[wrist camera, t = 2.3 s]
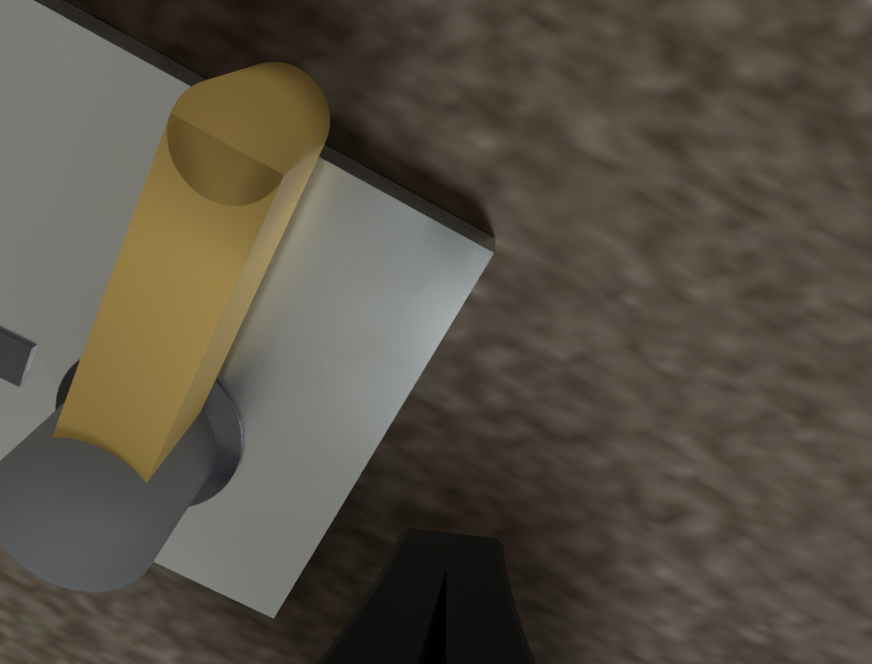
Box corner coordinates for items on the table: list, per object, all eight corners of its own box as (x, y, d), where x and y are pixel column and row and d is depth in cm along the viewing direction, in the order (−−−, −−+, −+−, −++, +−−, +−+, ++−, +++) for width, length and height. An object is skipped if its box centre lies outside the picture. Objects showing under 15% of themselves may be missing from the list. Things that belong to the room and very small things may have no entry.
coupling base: (283, 592, 22) (271, 624, 21) (-268, 328, 20) (-314, 347, 19) (514, 207, 17) (513, 223, 16) (-204, -193, 15) (-260, -207, 14)
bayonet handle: (186, 522, 19) (126, 617, 16) (51, 458, 19) (-34, 543, 16) (385, 115, 15) (351, 148, 12) (213, 18, 14) (134, 28, 11)
